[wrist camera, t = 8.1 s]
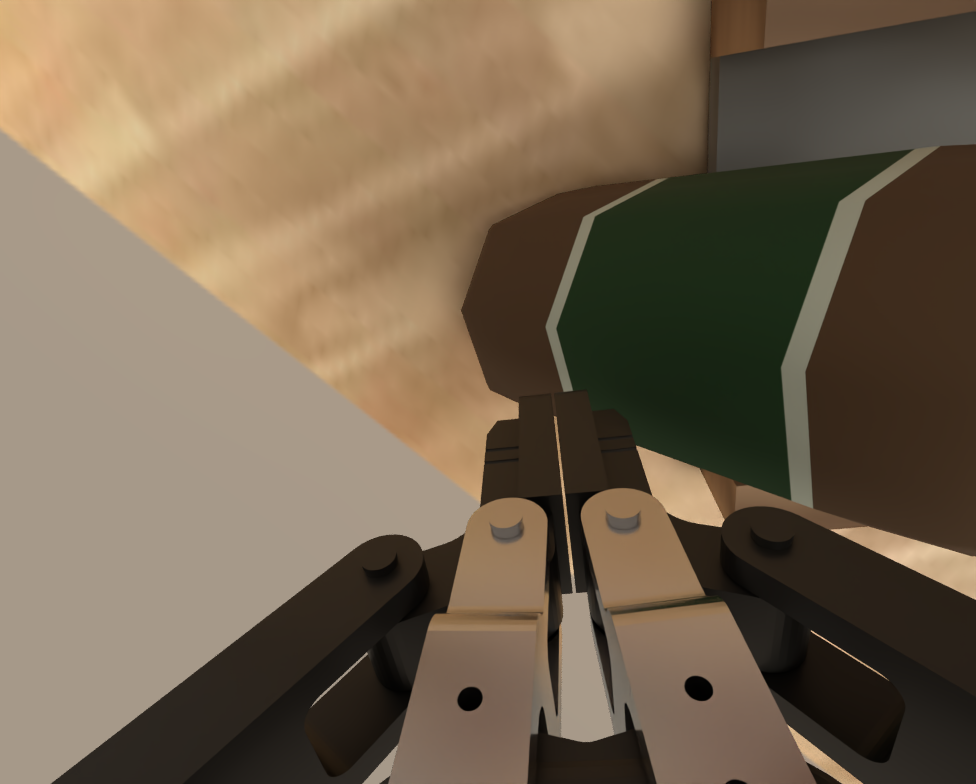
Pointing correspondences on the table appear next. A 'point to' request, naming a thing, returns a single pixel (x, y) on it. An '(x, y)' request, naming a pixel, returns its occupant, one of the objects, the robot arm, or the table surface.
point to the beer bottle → (762, 326)
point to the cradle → (834, 104)
